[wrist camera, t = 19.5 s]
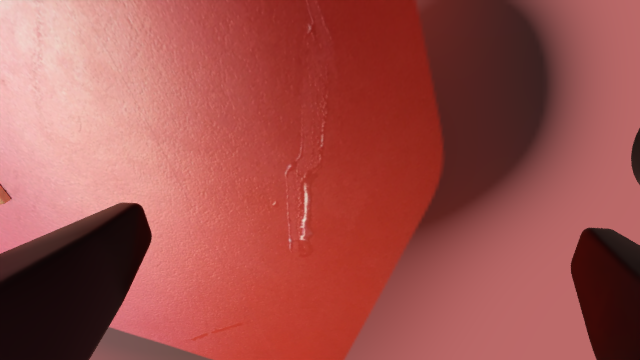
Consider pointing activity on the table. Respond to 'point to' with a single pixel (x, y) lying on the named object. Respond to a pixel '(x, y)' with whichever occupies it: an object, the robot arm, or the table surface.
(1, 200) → the pale mat
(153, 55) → the table surface
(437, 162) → the table surface
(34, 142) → the table surface
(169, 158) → the table surface
